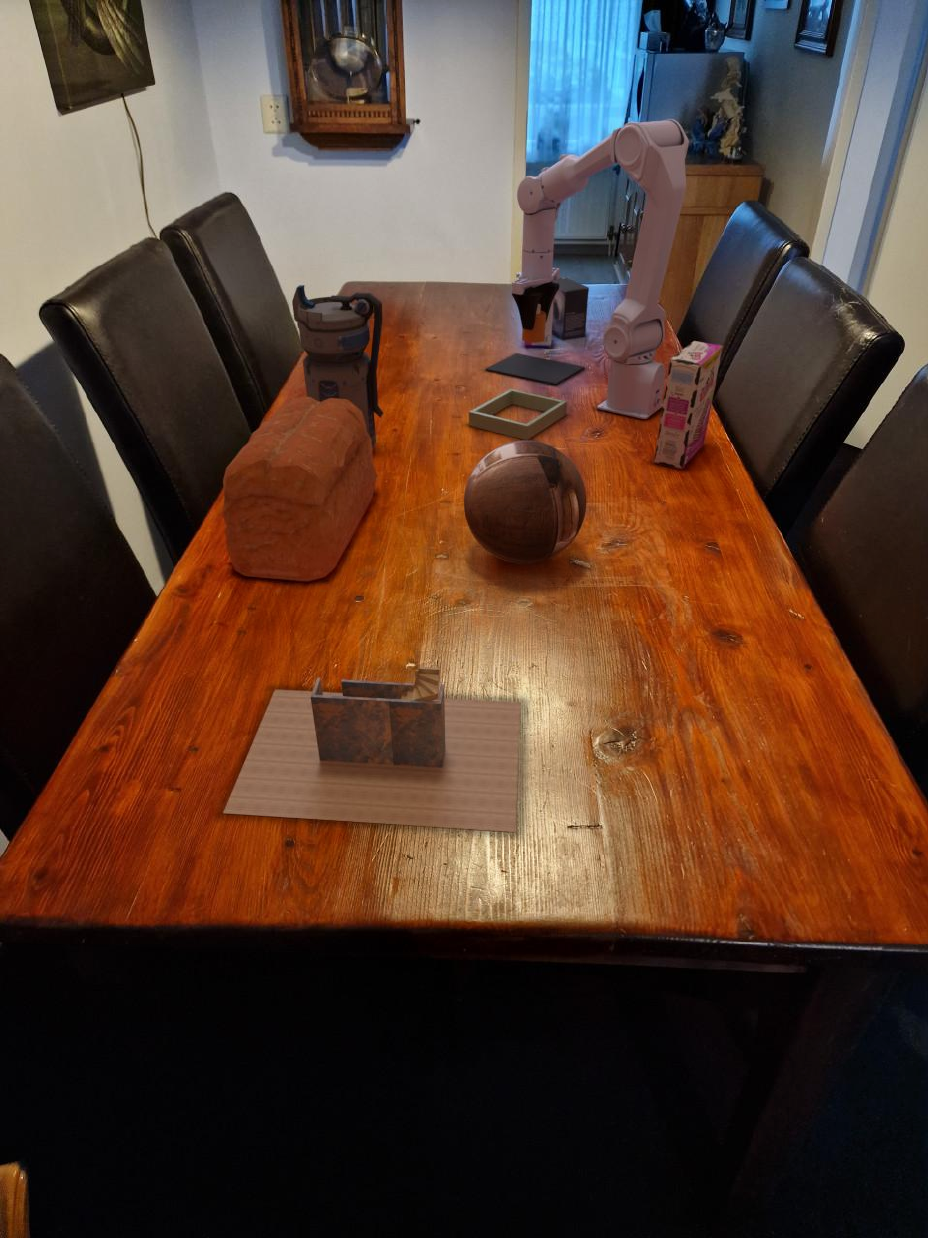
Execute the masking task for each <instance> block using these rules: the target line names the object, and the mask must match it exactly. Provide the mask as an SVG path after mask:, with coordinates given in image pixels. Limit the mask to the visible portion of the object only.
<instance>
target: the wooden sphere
mask: <svg viewBox="0 0 928 1238" xmlns="http://www.w3.org/2000/svg"><path fill="white" fill-rule="evenodd" d="M463 511H464V518H465V520H466V524H467V527H468V528H469V531H470V532H471V533H470V534H472V536H473V538H474V539H475V541H476V542H477V543H478V544H479V545H480V546H481V547H482V548H483V549H484V550H485V551H486V552H488V553H489V555H492V556H493V557H495V558H498V559H500V560H502V561H504V562H507V563H512V564H518V565H530V564H531V565H532V564H536V563H537V564H538V563H541V562H544V561H547V560H550V559H552V558H554V557H556V556H557V555H559V554H560V553H562V552H563V551H565V549H567V548H568V547H569V546H570V545H571V544H572V542H573V541H574V540H575V539H576V537H577V536H578V534H579V532H580V530H581V528H582V526H583V523H584V521H585V516H586V512H587V491H586V487H585V482H584V479H583V477H582V475H581V473H580V471H579V469H578V468H577V466H576V465H575V464H574V463H573V461H572V459H570V457H568V456H567V455H566V454H565V453H563V452H562V451H560V450H559V449H557V448H556V447H554V446H552V445H550V444H547V443H544V442H541V441H536V440H516V441H511V442H507V443H504V444H502V445H500V446H497V447H495V448H494V449H492V450H491V451H489V452H488V453H486V454H485V455H484V456H483V457H482V458H481V459H480V461H478V462H477V464H476V465H475V467H474V468H473V469H472V471H471V473H470V475H469V477H468V479H467V482H466V485H465V489H464V495H463Z"/></svg>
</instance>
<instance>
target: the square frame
mask: <svg viewBox="0 0 928 1238" xmlns="http://www.w3.org/2000/svg"><path fill="white" fill-rule="evenodd" d="M511 405H513V406H514V405H515V406H518V407H522V408H527V409H532V410H536V411H540V412H543V413H541V414H539V415H538V416H537V417H535V418H533V419H532V420H530V421H528V422H527V423H524V422H521V421H517V420H512V419H508V418H504V417H500V416H496V415H495V414H497V413H498V412H500V411H502V410H503V409H506V408H507V407H509V406H511ZM567 407H568V401H566V400H564V399H563V400H562V399H557V398H553V397H549V396H545V395H540V394H535V393H531V392H527V391H523V390H522V391H521V390H518V389H513V388H509V389H508V390H505V391H504V392H502V393H500V394H499V395H497V396H495V397H493V398H492V399H491V398H490V400H487V401H485V402H484V403H482V404H480V405H479V406H477V407H475V408H473V409H472V410H469V411H468V426H469V427H473V428H476V429H480V430H485V431H489V432H492V433H496V434H501V435H504V436H507V437H512V438H516V439H519V440H522V441H530V439H532V438H533V437H535V436H537V435H538V434H539V433H541V432H542V431H544V430H545V429H547V428H548V427H550V426H551V425H553V424H554V423H556V422H558V421H559V420H561V419H562V418H564V417H565V416H567Z"/></svg>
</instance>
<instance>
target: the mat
mask: <svg viewBox="0 0 928 1238" xmlns="http://www.w3.org/2000/svg"><path fill="white" fill-rule="evenodd" d="M585 369H586V366H583V365H577V364H574V363H568V362H562V361H558V360H553V359H548V358H543V357H538V356H533V355H528V354H523V353H518V352H516V353H514V354H512V355H510V356H507V357H505V358H504V359H502V360H500V361H498V362H496V363H494V364H492V365H490V366H488V367H486V368H485V371H486V372H491V373H497V374H499V375H504V376H509V377H513V378H518V379H522V380H526V381H527V380H528V381H532V382H537V383H542V384H545V385H550V386H551V385H552V386H558V385H560V384H561V383H563V382H564V381H566V380H568V379H569V378H571V377H573V376H575V375H576V374H578V373H580V372H582V371H583V370H585Z"/></svg>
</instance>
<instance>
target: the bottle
mask: <svg viewBox="0 0 928 1238" xmlns="http://www.w3.org/2000/svg"><path fill="white" fill-rule="evenodd" d="M540 309H541V305H540V304H538V307H537V311H536V318H535V325H534V328H533V330H528V329H523V328H522V329H521V340H522V341H523V342H524V343H525V342H530V343H538V342H542V341H544V340H545V324H546V312H544V311H540Z"/></svg>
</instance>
